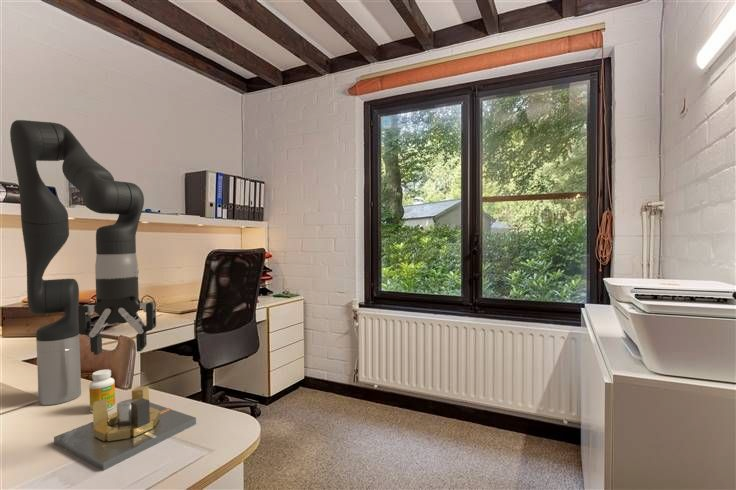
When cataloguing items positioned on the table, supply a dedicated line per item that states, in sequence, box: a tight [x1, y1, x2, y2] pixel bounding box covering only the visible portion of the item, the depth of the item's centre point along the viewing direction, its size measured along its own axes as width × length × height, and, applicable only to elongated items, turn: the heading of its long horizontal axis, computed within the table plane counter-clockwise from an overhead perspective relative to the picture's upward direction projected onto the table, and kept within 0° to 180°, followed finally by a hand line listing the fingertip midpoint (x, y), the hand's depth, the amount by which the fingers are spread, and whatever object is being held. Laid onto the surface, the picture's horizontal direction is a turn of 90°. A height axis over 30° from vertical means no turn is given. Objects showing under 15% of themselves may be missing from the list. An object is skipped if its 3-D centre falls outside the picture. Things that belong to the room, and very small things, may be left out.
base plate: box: [53, 398, 197, 471], centre depth 85 cm, size 20×20×7 cm
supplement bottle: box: [88, 368, 116, 414], centre depth 98 cm, size 5×5×10 cm
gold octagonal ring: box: [92, 385, 160, 441], centre depth 85 cm, size 12×12×7 cm
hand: (119, 352), depth 80 cm, fingers open, 7 cm apart
